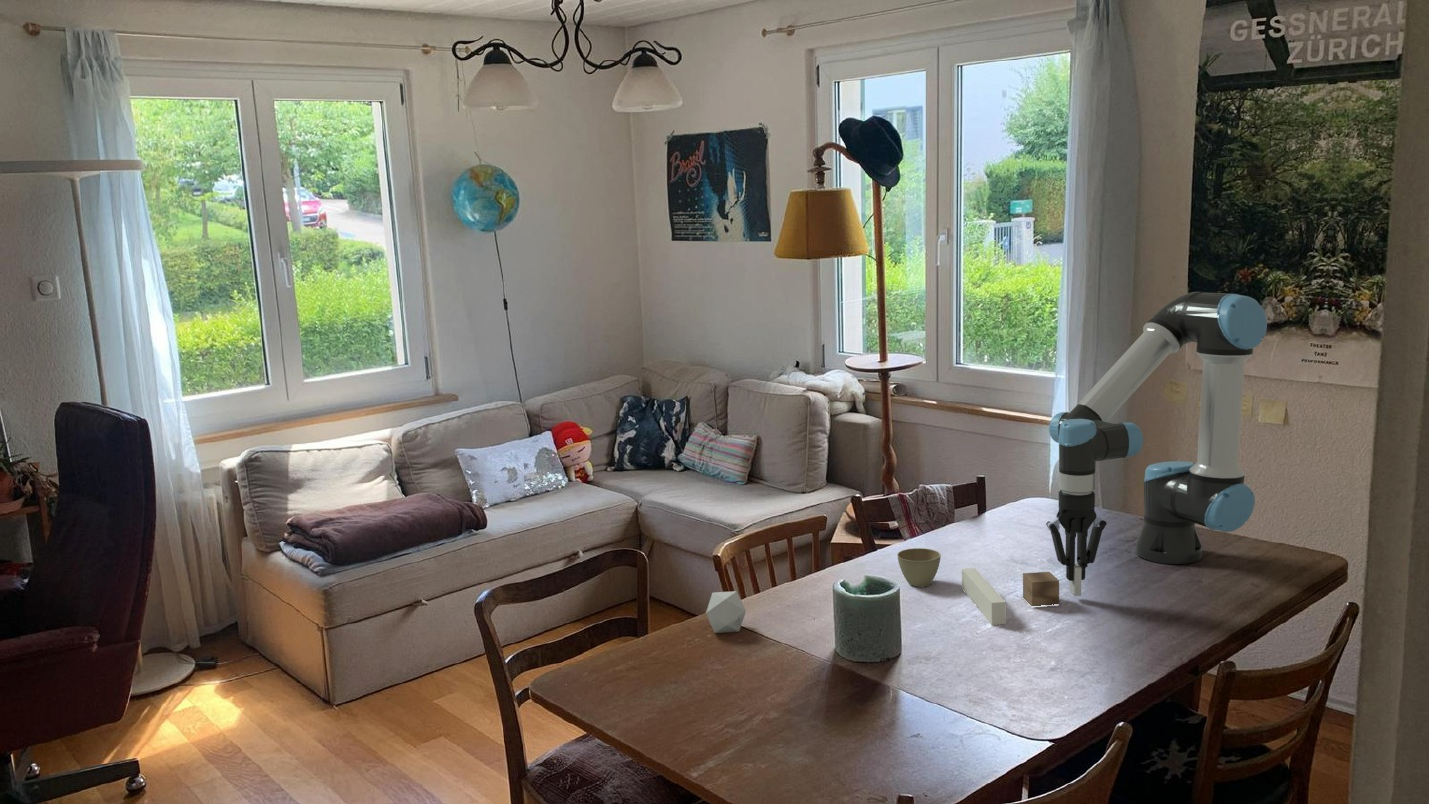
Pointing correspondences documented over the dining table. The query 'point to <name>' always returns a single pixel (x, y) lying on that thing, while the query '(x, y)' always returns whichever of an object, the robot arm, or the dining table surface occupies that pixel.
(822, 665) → the dining table surface
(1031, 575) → the block
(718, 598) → the die
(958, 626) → the dining table surface
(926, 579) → the flower pot
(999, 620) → the board
